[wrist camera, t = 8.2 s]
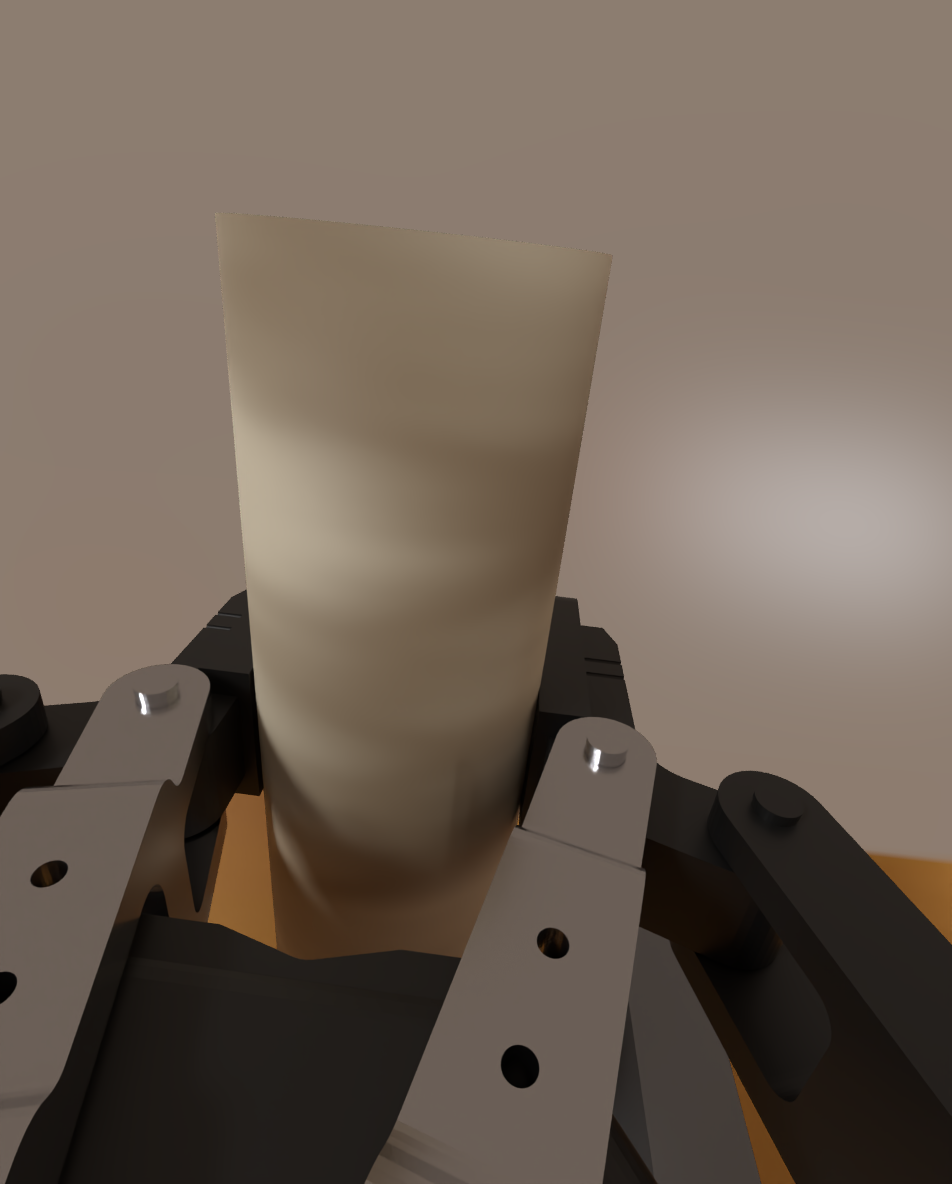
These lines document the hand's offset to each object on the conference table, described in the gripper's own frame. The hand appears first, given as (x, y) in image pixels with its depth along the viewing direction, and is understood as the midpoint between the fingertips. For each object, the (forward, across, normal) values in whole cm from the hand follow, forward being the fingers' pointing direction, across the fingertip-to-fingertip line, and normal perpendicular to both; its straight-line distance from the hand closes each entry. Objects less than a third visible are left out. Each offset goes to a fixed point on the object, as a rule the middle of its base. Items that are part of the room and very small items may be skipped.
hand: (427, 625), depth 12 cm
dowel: (-3, 0, +10) cm, 10 cm away
